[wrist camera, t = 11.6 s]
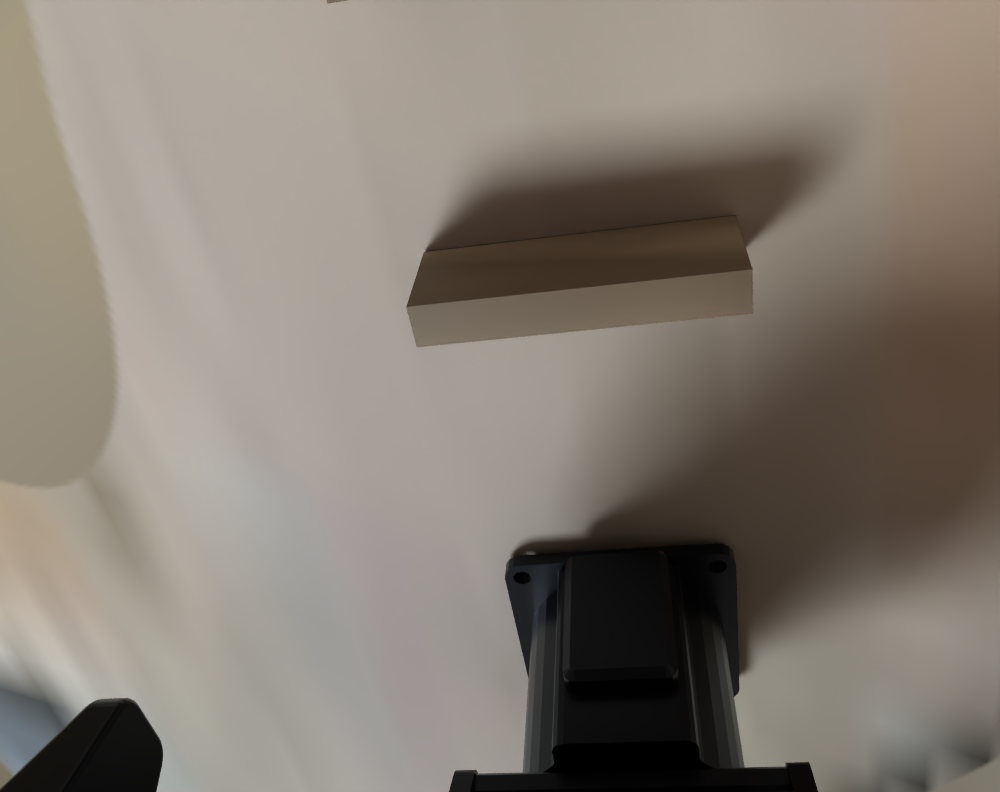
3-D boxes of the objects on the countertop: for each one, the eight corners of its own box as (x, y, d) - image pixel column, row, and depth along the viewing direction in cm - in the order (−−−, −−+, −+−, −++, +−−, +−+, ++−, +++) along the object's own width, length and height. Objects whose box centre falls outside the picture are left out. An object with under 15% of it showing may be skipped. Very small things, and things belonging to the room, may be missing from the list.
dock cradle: (736, 256, 20) (753, 313, 18) (433, 289, 21) (417, 346, 19) (728, -155, 16) (749, -139, 14) (343, -85, 17) (311, -61, 15)
